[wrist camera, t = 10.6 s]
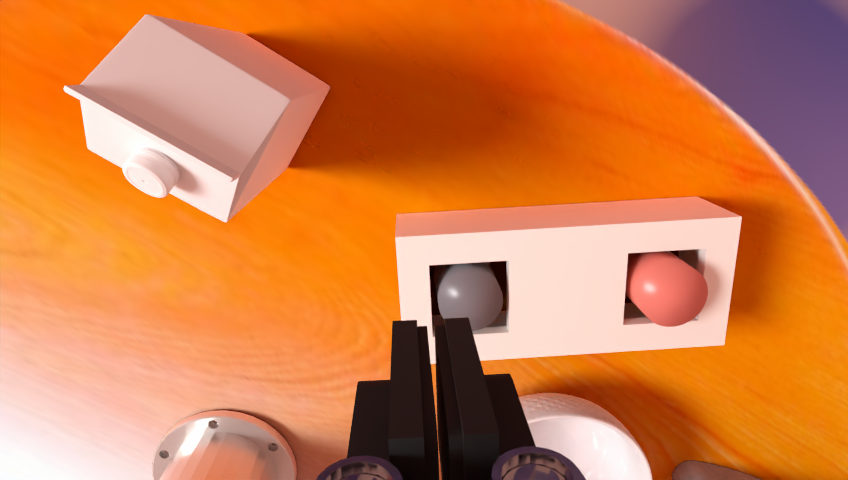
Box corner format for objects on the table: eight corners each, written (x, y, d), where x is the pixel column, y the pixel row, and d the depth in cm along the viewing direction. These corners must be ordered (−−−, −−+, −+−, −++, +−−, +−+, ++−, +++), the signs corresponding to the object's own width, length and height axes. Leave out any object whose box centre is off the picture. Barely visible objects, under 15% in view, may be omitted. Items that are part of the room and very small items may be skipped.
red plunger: (667, 293, 43) (704, 324, 38) (610, 296, 43) (639, 328, 38) (673, 238, 42) (711, 263, 37) (614, 242, 42) (644, 267, 36)
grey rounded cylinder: (491, 297, 44) (503, 329, 39) (435, 301, 44) (439, 333, 39) (490, 244, 43) (503, 269, 37) (432, 247, 43) (436, 273, 37)
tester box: (684, 310, 46) (724, 344, 40) (404, 327, 46) (404, 365, 40) (697, 196, 43) (742, 216, 37) (396, 214, 43) (395, 237, 37)
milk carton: (242, 32, 38) (97, 2, 20) (331, 86, 39) (271, 105, 21) (200, 119, 40) (31, 165, 22) (287, 169, 41) (196, 250, 23)
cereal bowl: (521, 545, 54) (538, 614, 47) (403, 448, 50) (403, 508, 43) (657, 443, 50) (696, 501, 44) (543, 330, 46) (566, 375, 40)
